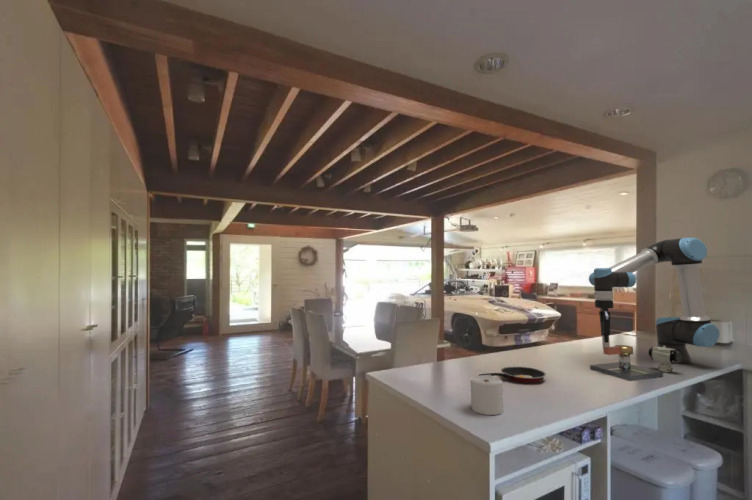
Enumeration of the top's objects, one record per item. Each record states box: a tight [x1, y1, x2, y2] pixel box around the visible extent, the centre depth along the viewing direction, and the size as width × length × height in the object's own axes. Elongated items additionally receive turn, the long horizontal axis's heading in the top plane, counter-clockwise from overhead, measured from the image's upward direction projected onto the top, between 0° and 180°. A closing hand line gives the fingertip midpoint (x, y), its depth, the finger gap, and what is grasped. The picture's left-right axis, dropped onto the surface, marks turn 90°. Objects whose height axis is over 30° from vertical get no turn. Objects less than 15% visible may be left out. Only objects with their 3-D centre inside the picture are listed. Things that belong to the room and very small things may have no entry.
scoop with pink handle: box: [602, 344, 634, 356], centre depth 165 cm, size 14×7×3 cm, turn 106°
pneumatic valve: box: [648, 346, 682, 373], centre depth 168 cm, size 6×12×12 cm, turn 20°
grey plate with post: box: [589, 354, 664, 382], centre depth 166 cm, size 20×20×9 cm
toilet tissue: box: [470, 374, 504, 416], centre depth 123 cm, size 11×12×10 cm
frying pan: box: [478, 365, 547, 384], centre depth 156 cm, size 19×32×4 cm, turn 106°
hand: (606, 348), depth 169 cm, fingers closed
